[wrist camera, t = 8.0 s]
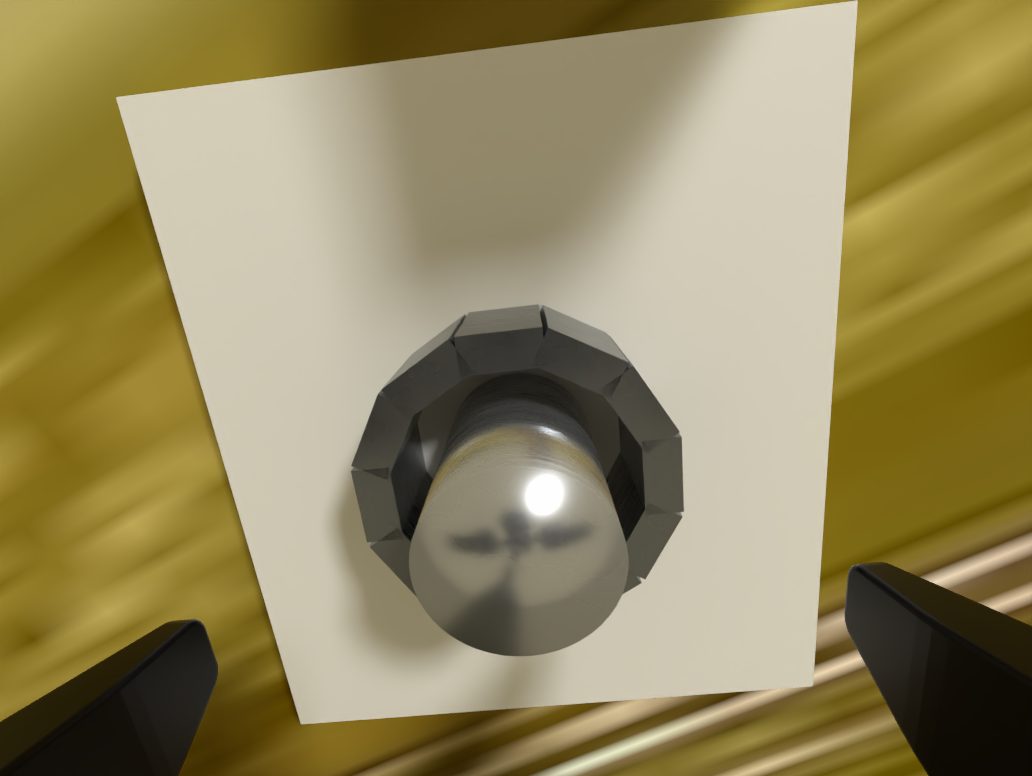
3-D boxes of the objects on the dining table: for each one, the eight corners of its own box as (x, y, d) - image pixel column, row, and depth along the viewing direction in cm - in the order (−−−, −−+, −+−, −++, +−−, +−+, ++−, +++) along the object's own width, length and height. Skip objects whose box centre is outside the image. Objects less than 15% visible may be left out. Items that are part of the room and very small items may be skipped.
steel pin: (593, 493, 14) (633, 648, 9) (461, 506, 15) (427, 663, 9) (583, 366, 13) (622, 456, 8) (442, 380, 14) (390, 479, 8)
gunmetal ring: (655, 537, 15) (686, 612, 12) (414, 559, 15) (388, 638, 12) (643, 292, 13) (677, 311, 10) (366, 324, 13) (323, 351, 10)
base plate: (789, 648, 18) (812, 686, 16) (318, 685, 18) (300, 724, 17) (819, 26, 12) (857, 0, 11) (160, 111, 13) (115, 97, 12)
